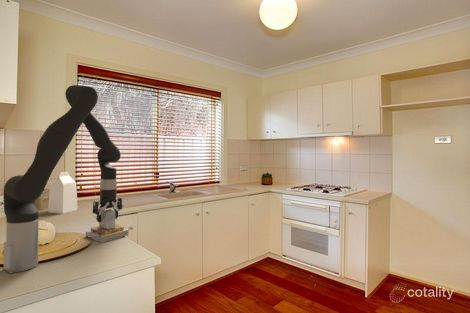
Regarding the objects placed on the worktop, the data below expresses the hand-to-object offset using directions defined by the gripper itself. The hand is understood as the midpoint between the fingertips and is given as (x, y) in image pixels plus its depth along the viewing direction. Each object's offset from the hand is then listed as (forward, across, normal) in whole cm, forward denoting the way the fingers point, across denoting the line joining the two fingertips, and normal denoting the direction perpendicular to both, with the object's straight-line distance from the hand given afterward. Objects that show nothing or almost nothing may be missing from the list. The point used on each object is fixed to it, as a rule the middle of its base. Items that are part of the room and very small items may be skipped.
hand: (107, 220), depth 134 cm
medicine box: (+4, 0, 0) cm, 4 cm away
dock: (+8, 0, 0) cm, 8 cm away
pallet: (+5, 0, 0) cm, 5 cm away
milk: (+8, +11, +68) cm, 69 cm away
